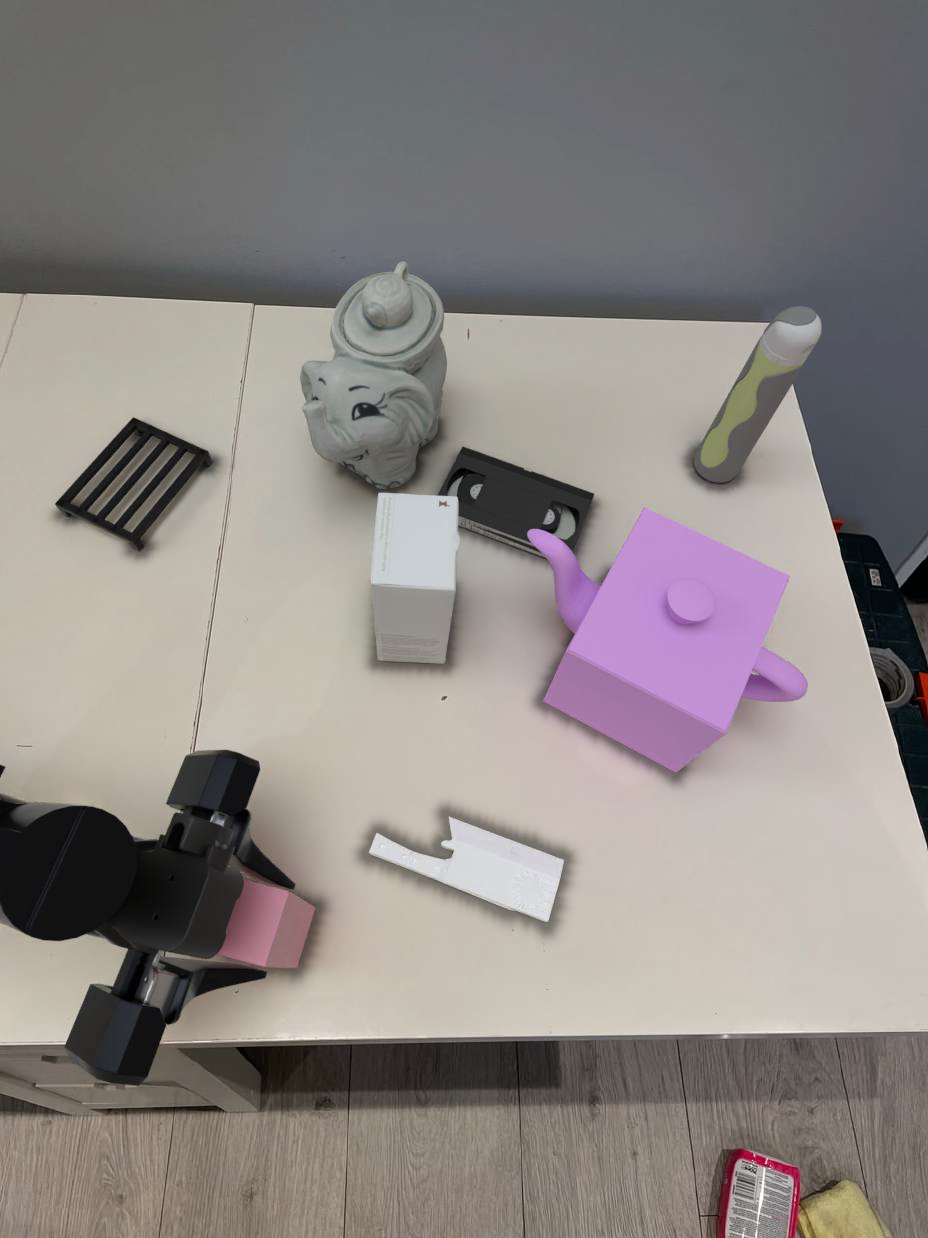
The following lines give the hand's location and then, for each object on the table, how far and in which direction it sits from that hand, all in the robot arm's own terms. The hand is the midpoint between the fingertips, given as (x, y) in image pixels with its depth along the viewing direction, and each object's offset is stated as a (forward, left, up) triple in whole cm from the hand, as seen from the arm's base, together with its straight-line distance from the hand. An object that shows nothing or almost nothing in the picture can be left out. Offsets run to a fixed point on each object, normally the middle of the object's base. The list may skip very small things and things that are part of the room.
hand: (278, 929), depth 51 cm
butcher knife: (+8, +12, -7) cm, 16 cm away
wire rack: (-39, +22, -7) cm, 46 cm away
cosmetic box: (-8, +26, -7) cm, 29 cm away
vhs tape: (-8, +43, -7) cm, 44 cm away
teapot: (+10, +35, -7) cm, 37 cm away
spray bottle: (+6, +60, -7) cm, 61 cm away
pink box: (-1, -1, -7) cm, 7 cm away
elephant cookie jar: (-23, +39, -7) cm, 46 cm away
